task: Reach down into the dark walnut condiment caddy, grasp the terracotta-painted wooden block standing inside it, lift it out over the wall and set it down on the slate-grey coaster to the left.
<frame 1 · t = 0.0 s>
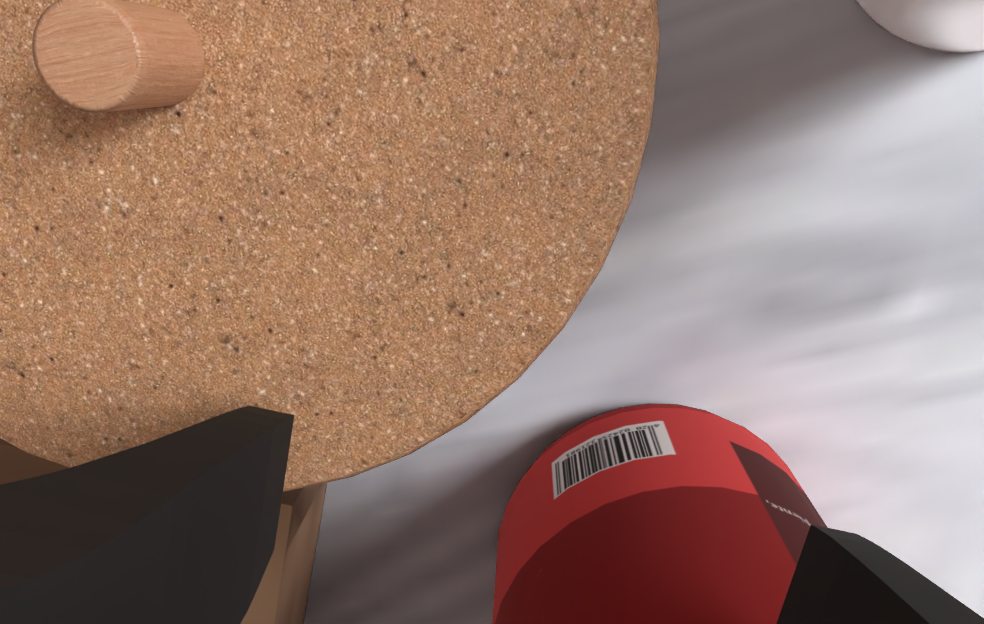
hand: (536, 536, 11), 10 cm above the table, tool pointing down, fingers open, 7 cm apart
lidded bowl: (333, 63, 20), on the table
canned food: (645, 527, 23), on the table, touching gripper
caddy: (74, 576, 24), on the table
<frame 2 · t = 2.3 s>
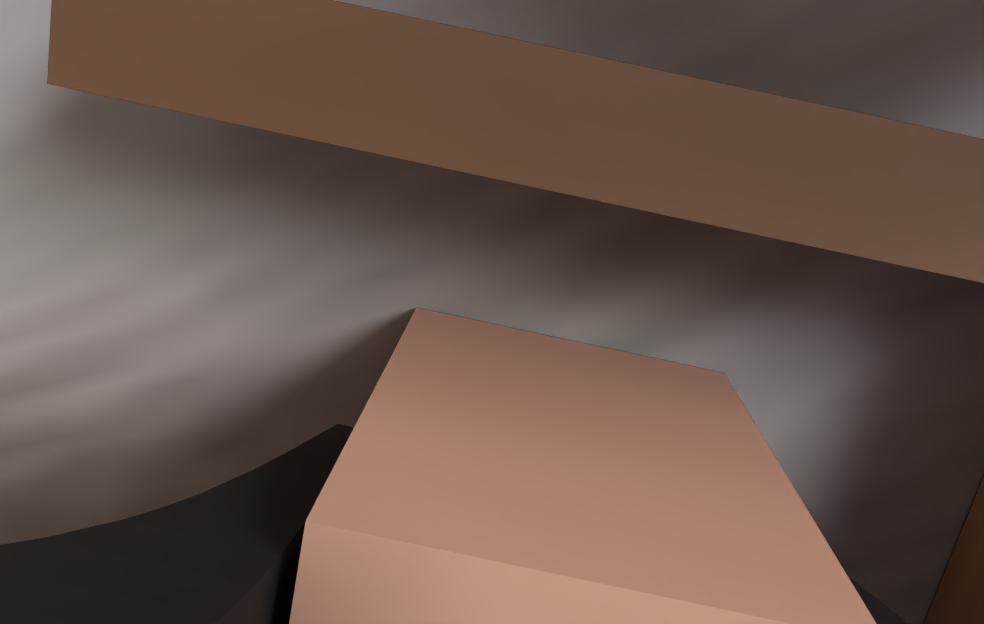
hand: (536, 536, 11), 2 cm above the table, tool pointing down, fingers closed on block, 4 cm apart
block: (536, 479, 13), on the table, touching gripper
caddy: (601, 494, 13), on the table
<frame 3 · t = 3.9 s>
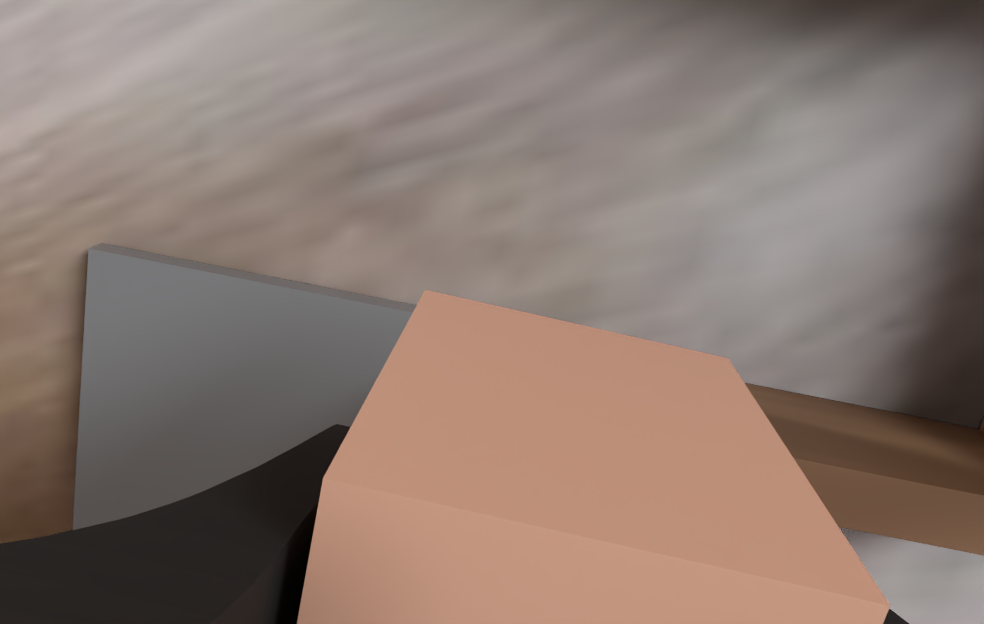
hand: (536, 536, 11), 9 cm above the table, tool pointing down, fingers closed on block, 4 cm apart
block: (541, 462, 13), point 7 cm above the table, touching gripper
caddy: (815, 181, 19), on the table
coaster: (305, 498, 21), on the table
when the fingers open (3 cm above the table, at t = 5.9 s): block stays where it is, resting on coaster.
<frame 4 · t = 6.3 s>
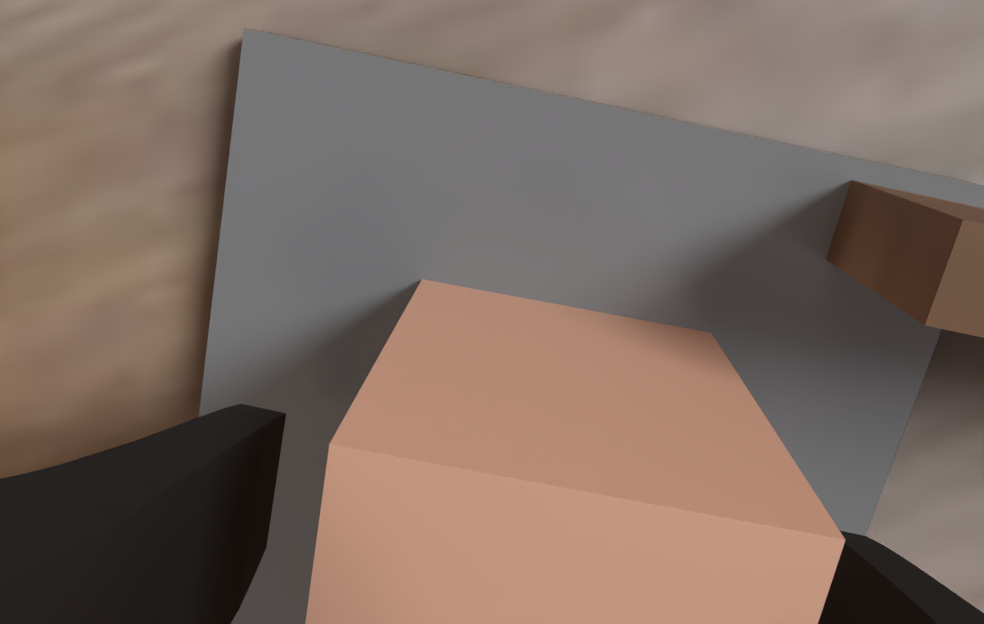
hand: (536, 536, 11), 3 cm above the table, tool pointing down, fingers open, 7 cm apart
block: (538, 438, 14), point 1 cm above the table, touching coaster
coaster: (537, 436, 14), on the table
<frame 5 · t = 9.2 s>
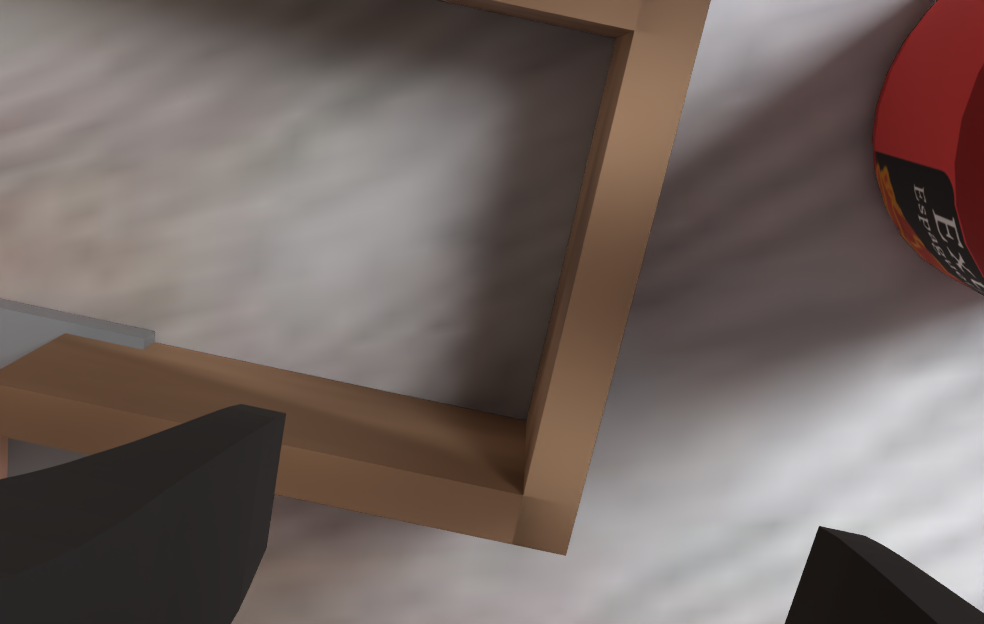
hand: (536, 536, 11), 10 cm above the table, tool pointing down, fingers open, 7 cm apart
caddy: (354, 196, 21), on the table
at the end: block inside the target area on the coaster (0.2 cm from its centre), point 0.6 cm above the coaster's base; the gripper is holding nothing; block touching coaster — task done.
